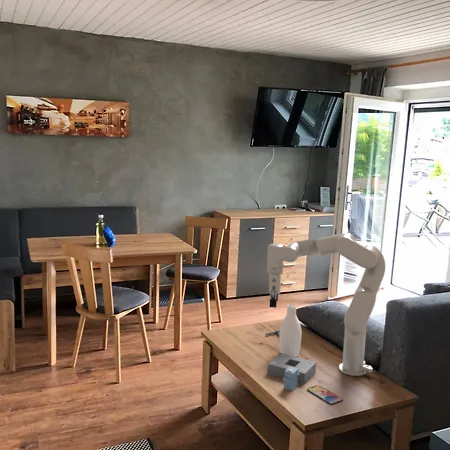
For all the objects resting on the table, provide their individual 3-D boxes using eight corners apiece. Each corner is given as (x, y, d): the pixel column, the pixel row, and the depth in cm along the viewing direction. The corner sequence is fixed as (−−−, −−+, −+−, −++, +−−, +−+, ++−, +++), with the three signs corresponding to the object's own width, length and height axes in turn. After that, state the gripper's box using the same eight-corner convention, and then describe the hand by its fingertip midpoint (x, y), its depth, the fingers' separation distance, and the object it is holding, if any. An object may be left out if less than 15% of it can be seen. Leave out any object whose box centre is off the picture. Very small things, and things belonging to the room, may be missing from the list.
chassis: (315, 371, 240) (316, 361, 239) (304, 383, 228) (305, 373, 227) (280, 362, 249) (280, 352, 248) (267, 373, 237) (268, 363, 236)
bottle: (293, 361, 251) (296, 311, 246) (274, 355, 257) (276, 306, 253) (304, 354, 259) (307, 305, 255) (285, 348, 266) (287, 300, 262)
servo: (299, 384, 228) (299, 366, 226) (290, 392, 220) (291, 373, 219) (290, 381, 230) (291, 363, 228) (282, 390, 222) (283, 371, 221)
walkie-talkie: (292, 329, 293) (264, 336, 282) (292, 322, 292) (264, 328, 281) (302, 334, 285) (274, 342, 275) (303, 327, 285) (274, 334, 274)
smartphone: (331, 404, 210) (306, 388, 223) (330, 406, 210) (306, 390, 223) (343, 399, 214) (318, 384, 227) (343, 401, 214) (318, 386, 227)
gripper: (281, 274, 238) (280, 310, 241) (283, 265, 255) (282, 299, 258) (265, 273, 239) (264, 309, 242) (268, 264, 256) (267, 298, 259)
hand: (273, 303), depth 250 cm, fingers open, 9 cm apart
